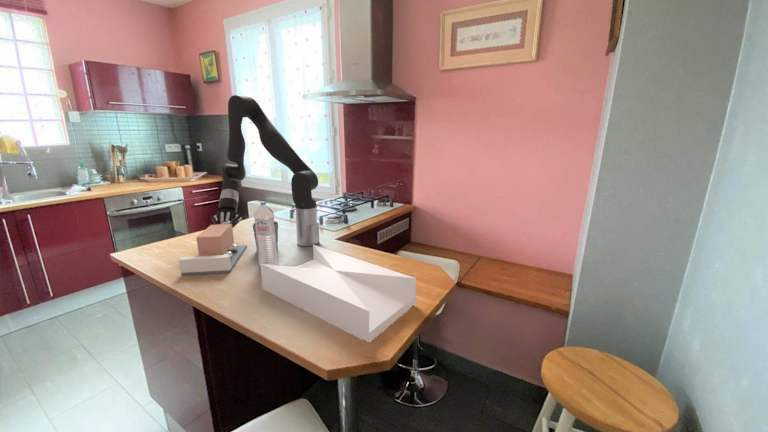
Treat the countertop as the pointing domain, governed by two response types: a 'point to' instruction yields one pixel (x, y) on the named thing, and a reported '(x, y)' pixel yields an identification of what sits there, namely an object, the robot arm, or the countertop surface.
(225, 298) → the countertop surface
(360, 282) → the building model
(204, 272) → the grey piece
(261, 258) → the water bottle
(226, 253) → the front roller
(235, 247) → the rear roller
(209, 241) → the terracotta block
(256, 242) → the grey pot
